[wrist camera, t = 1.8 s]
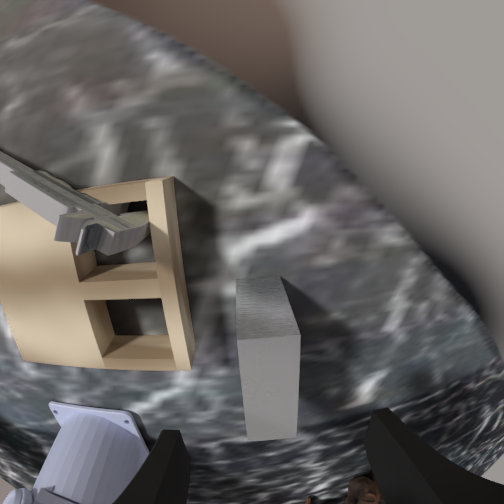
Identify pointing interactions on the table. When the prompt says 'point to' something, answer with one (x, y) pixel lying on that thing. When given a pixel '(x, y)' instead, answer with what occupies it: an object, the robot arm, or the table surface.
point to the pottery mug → (362, 491)
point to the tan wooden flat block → (94, 288)
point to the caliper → (74, 210)
